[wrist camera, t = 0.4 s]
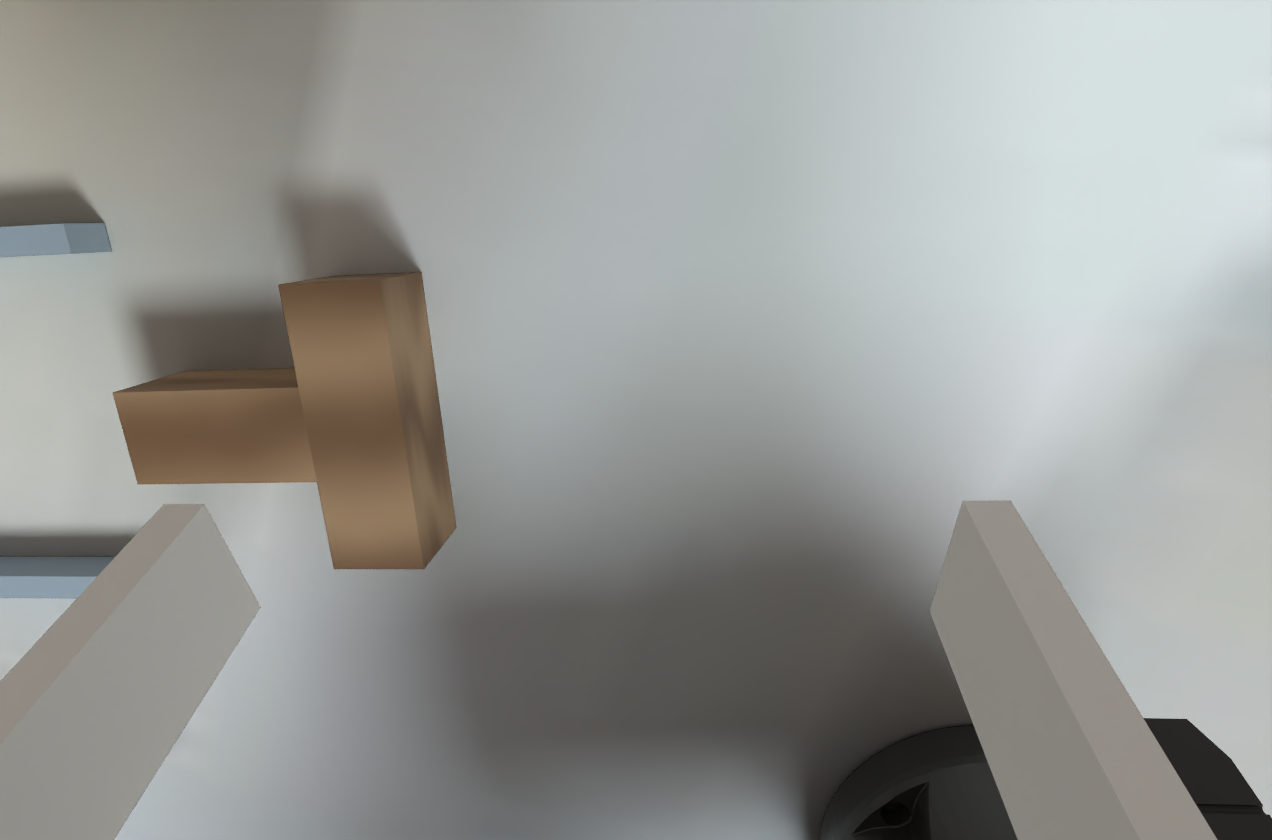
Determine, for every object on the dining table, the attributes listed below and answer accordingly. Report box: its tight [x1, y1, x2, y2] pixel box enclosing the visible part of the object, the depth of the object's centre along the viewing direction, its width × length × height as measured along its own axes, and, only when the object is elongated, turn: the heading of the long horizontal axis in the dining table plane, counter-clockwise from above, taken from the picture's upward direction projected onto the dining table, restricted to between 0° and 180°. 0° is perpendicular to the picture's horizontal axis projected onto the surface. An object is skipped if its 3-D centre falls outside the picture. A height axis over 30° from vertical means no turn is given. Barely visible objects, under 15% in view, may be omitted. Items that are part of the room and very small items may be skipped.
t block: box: [113, 272, 456, 569], centre depth 29 cm, size 12×12×4 cm
